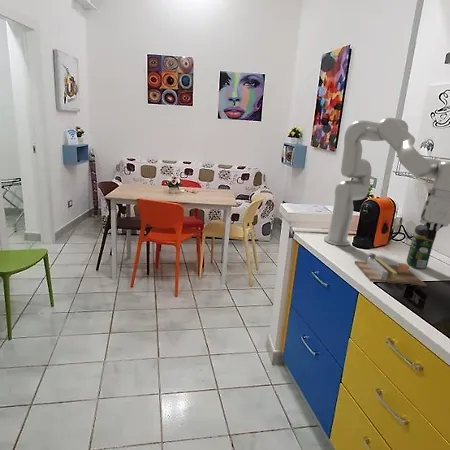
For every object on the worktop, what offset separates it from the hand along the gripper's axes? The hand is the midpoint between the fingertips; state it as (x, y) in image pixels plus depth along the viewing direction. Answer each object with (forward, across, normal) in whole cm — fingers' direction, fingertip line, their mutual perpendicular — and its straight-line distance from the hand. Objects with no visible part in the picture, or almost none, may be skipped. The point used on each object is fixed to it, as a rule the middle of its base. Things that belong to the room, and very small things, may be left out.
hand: (429, 238), depth 141 cm
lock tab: (+16, -7, 0) cm, 17 cm away
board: (+17, -13, -1) cm, 21 cm away
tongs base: (+16, -19, -2) cm, 24 cm away
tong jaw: (+16, -16, -3) cm, 23 cm away
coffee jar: (+17, +6, +14) cm, 23 cm away
